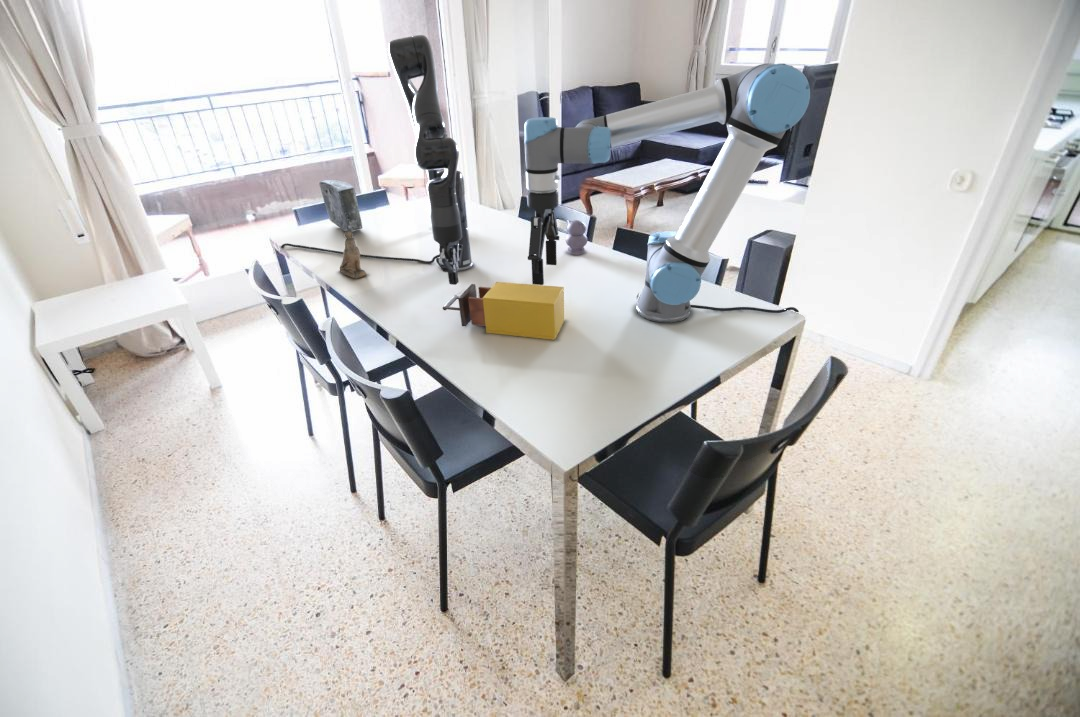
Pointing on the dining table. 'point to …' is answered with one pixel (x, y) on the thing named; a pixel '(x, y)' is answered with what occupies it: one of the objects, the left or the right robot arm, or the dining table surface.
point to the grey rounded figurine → (576, 237)
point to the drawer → (470, 305)
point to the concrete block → (341, 204)
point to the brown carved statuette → (351, 258)
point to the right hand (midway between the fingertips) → (545, 274)
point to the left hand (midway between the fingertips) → (454, 283)
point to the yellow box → (524, 310)
